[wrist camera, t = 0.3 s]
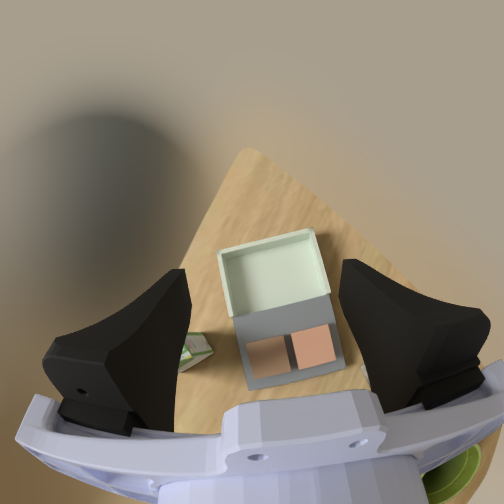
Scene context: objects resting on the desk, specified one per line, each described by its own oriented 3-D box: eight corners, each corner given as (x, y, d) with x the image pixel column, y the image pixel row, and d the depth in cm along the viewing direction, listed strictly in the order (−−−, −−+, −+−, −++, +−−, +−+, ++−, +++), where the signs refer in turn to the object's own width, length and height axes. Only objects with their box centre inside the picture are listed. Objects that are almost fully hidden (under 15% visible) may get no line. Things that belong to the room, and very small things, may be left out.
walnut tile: (291, 368, 36) (291, 371, 33) (256, 376, 36) (253, 379, 33) (283, 334, 37) (283, 335, 35) (248, 342, 37) (245, 343, 35)
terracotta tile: (333, 357, 35) (336, 359, 33) (298, 366, 35) (298, 369, 33) (325, 324, 37) (327, 323, 34) (290, 333, 37) (290, 333, 34)
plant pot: (393, 431, 32) (421, 457, 21) (452, 413, 31) (488, 430, 20) (385, 485, 29) (406, 518, 18) (443, 467, 27) (471, 490, 17)
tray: (327, 295, 39) (331, 292, 36) (234, 317, 40) (229, 317, 37) (310, 235, 42) (312, 227, 39) (222, 257, 43) (216, 251, 40)
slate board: (343, 366, 36) (346, 368, 34) (250, 387, 37) (248, 390, 35) (326, 295, 39) (328, 293, 38) (234, 317, 40) (232, 317, 38)
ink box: (201, 330, 41) (164, 330, 28) (215, 352, 39) (182, 362, 27) (167, 352, 40) (120, 358, 27) (180, 373, 39) (136, 388, 26)
